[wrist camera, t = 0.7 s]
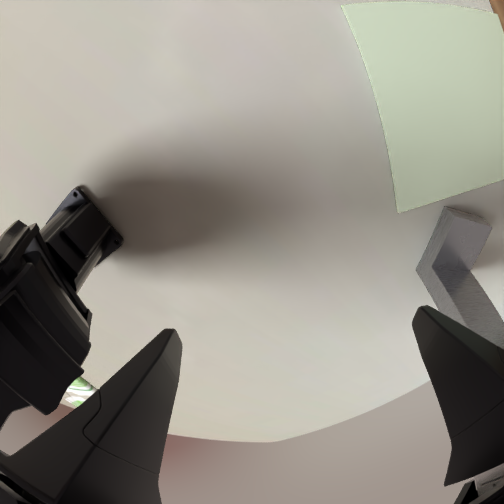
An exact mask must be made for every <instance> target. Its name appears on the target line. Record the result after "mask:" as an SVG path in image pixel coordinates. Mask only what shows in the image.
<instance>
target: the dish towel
mask: <svg viewBox="0 0 504 504" xmlns="http://www.w3.org/2000/svg"><path fill="white" fill-rule="evenodd" d="M95 391H97V389H95V388H94V387H93V386H91V385H90V384H89V383H88V382H86V381H85V380H84V379H83V378H81V377H78V378H77V379H76V380H74V382H73V383H72V384H71V385H70V386H69V387H68V389H67V390H66V392H65V394H64V395H63V398H64V399H66V400H67V401H69V402H70V403H72V404H73V405H75V406H76V407H78V406H79V405H81V404H82V403H83V402H84V401H85V400H86V399H88V398H89V397H90V396H91V395H92V394H93V393H94V392H95Z"/></svg>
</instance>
